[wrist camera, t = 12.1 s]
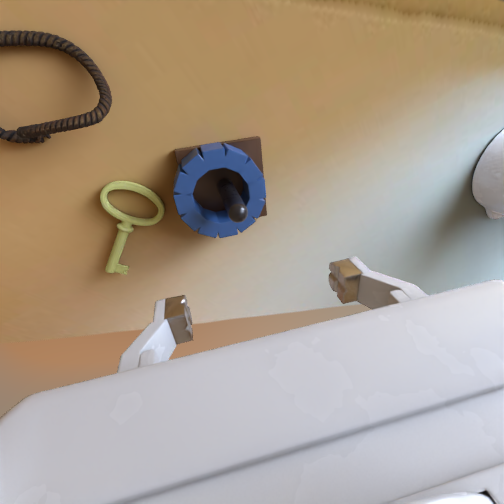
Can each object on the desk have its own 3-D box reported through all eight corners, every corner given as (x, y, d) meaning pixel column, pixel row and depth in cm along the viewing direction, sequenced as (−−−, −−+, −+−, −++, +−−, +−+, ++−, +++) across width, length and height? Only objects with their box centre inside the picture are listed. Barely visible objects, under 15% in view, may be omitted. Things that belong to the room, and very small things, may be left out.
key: (107, 267, 38) (104, 276, 36) (100, 177, 32) (95, 182, 31) (163, 268, 40) (162, 276, 38) (165, 183, 34) (164, 189, 33)
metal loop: (-67, 139, 24) (-111, -13, 19) (-23, 130, 28) (-51, 5, 24) (104, 171, 27) (102, 47, 22) (118, 158, 32) (119, 53, 27)
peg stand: (257, 136, 34) (287, 154, 25) (264, 211, 39) (290, 249, 30) (174, 149, 33) (174, 173, 24) (193, 226, 38) (198, 269, 29)
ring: (253, 136, 33) (261, 141, 30) (261, 216, 38) (269, 227, 35) (164, 151, 31) (162, 158, 28) (186, 232, 37) (186, 245, 34)
